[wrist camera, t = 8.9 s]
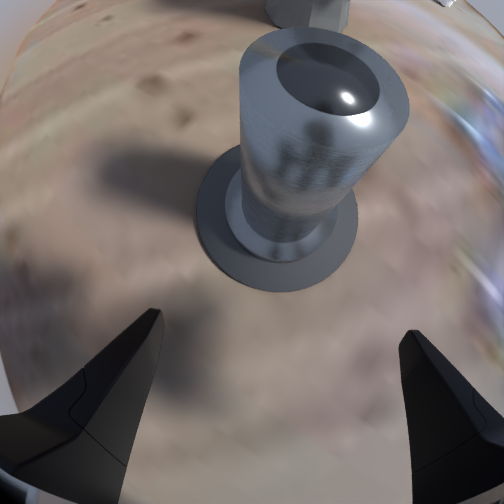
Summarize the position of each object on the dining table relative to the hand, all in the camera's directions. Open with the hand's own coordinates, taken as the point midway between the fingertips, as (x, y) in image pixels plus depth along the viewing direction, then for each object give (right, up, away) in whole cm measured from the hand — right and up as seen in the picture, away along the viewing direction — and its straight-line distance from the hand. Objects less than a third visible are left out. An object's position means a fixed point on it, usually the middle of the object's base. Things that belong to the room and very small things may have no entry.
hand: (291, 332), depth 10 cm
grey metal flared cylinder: (0, +5, +9) cm, 11 cm away
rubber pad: (0, +6, +10) cm, 11 cm away
